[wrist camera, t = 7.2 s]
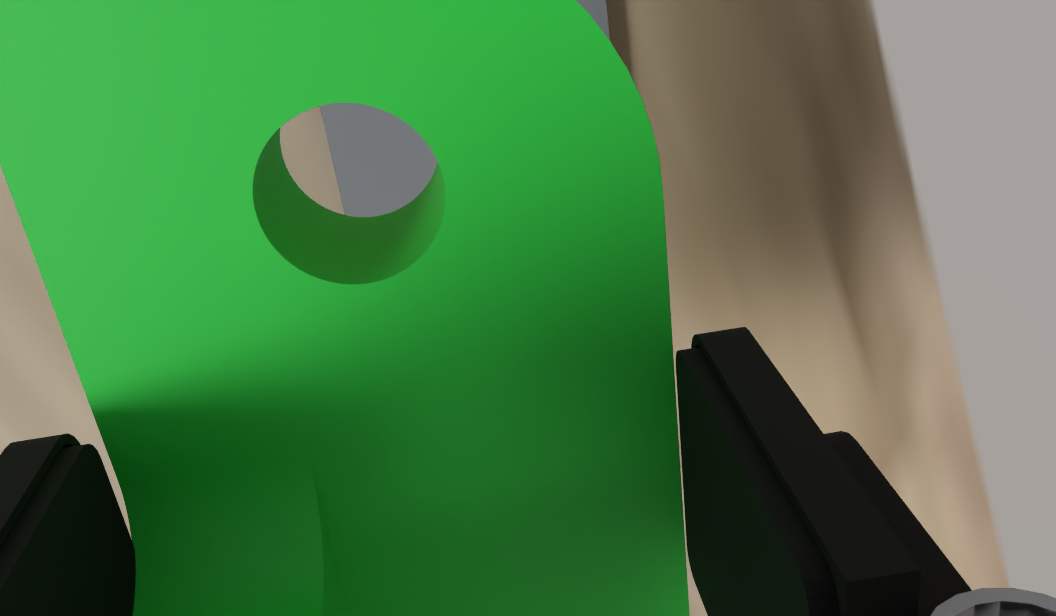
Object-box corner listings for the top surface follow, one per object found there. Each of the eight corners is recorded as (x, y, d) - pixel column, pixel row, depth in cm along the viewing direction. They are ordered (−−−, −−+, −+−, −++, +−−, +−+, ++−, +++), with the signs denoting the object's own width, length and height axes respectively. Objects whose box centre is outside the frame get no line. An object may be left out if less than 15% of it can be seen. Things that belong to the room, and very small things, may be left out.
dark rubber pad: (284, -71, 22) (280, -69, 21) (588, -118, 22) (593, -118, 21) (358, 256, 25) (356, 267, 24) (622, 212, 25) (628, 221, 24)
